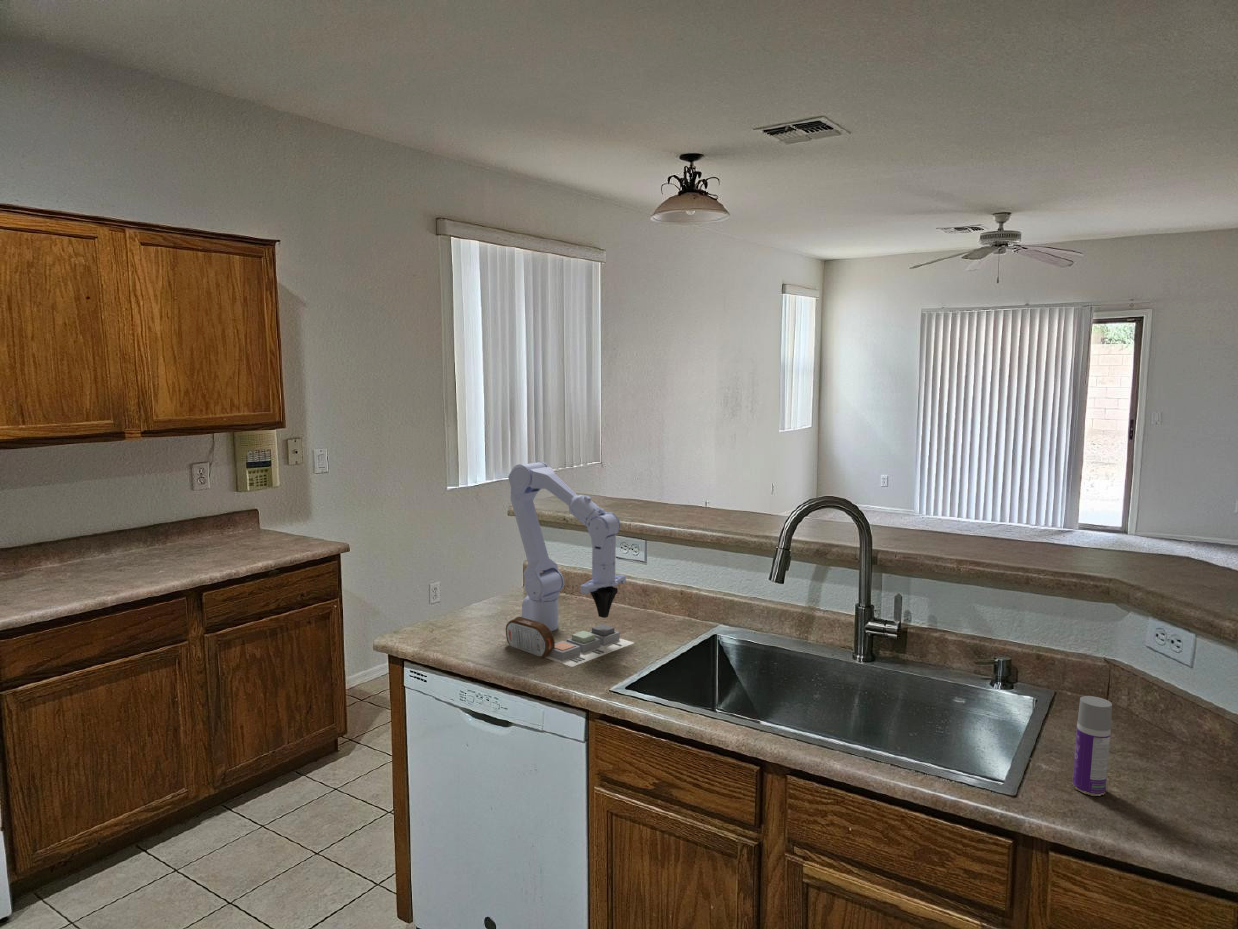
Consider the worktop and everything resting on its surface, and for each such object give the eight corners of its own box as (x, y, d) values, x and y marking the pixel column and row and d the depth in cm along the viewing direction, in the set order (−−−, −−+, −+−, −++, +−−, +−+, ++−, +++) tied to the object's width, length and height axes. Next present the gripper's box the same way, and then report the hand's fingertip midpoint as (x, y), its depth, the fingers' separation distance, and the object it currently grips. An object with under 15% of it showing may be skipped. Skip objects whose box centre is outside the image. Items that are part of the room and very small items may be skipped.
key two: (571, 642, 189) (571, 634, 189) (583, 638, 192) (583, 630, 192) (583, 646, 186) (583, 638, 186) (595, 642, 189) (595, 634, 189)
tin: (556, 659, 183) (554, 624, 182) (546, 663, 180) (544, 628, 179) (514, 646, 193) (512, 613, 192) (504, 650, 190) (502, 616, 189)
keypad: (537, 658, 184) (537, 646, 184) (600, 636, 200) (600, 624, 200) (572, 671, 176) (572, 658, 176) (634, 646, 193) (635, 635, 193)
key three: (550, 654, 184) (550, 646, 183) (562, 650, 187) (562, 642, 186) (562, 658, 181) (562, 650, 181) (574, 654, 184) (574, 645, 184)
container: (1065, 782, 130) (1072, 696, 128) (1092, 781, 130) (1099, 695, 129) (1084, 797, 125) (1092, 707, 124) (1112, 796, 126) (1120, 707, 124)
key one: (591, 635, 194) (591, 627, 194) (602, 631, 197) (602, 624, 197) (603, 639, 191) (603, 631, 191) (614, 635, 194) (614, 627, 194)
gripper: (595, 570, 184) (595, 626, 186) (635, 560, 195) (634, 613, 196) (574, 565, 189) (573, 620, 190) (614, 556, 200) (613, 607, 201)
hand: (603, 616), depth 194 cm, fingers closed
